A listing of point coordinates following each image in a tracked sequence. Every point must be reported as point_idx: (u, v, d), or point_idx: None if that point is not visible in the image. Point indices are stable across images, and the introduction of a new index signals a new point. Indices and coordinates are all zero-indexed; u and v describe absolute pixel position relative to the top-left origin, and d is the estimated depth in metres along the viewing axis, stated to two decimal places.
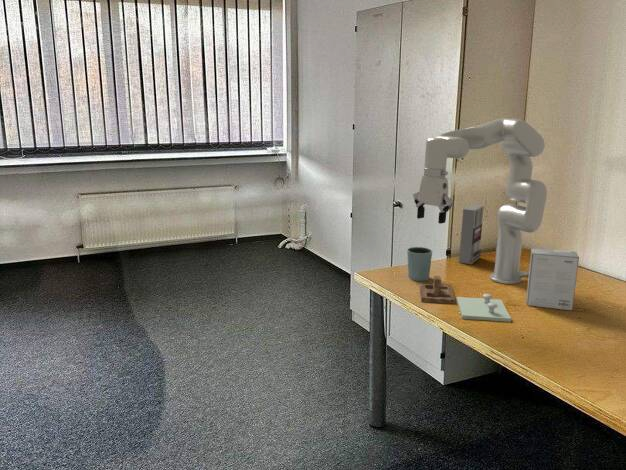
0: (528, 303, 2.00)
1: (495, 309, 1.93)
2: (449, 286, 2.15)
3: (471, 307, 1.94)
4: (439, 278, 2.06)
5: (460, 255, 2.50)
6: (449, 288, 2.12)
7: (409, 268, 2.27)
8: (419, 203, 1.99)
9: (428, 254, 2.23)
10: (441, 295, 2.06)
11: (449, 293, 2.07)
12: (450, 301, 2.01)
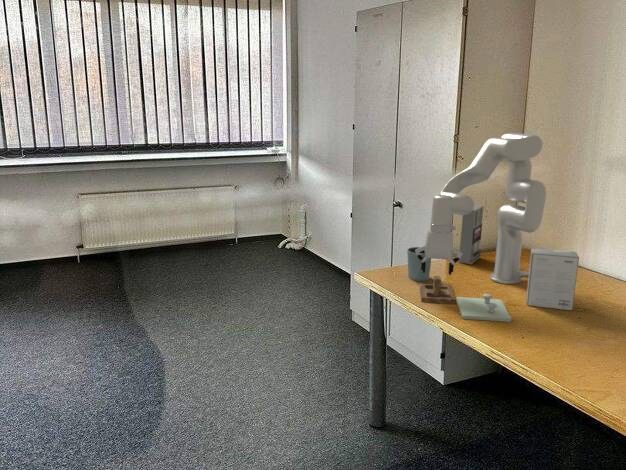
0: (528, 303, 2.00)
1: (495, 309, 1.93)
2: (449, 286, 2.15)
3: (471, 307, 1.94)
4: (439, 278, 2.06)
5: None
6: (449, 288, 2.12)
7: (409, 268, 2.27)
8: (425, 258, 2.05)
9: None
10: (441, 295, 2.06)
11: (449, 293, 2.07)
12: (450, 301, 2.01)
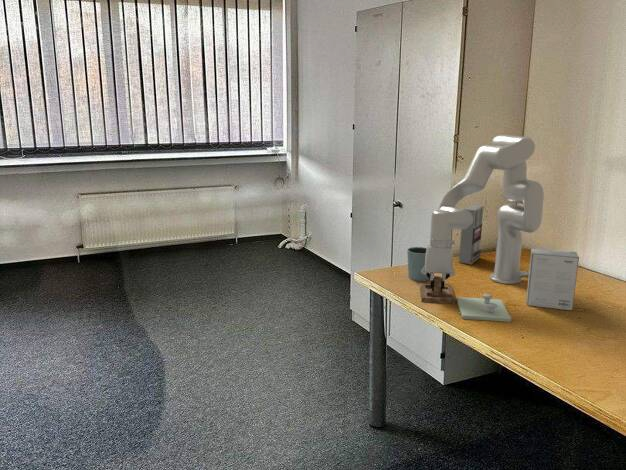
0: (528, 303, 2.00)
1: (495, 309, 1.93)
2: (449, 286, 2.15)
3: (471, 307, 1.94)
4: (439, 278, 2.06)
5: (460, 255, 2.50)
6: (449, 288, 2.12)
7: (409, 268, 2.27)
8: None
9: None
10: (441, 295, 2.06)
11: (449, 293, 2.07)
12: (450, 301, 2.01)
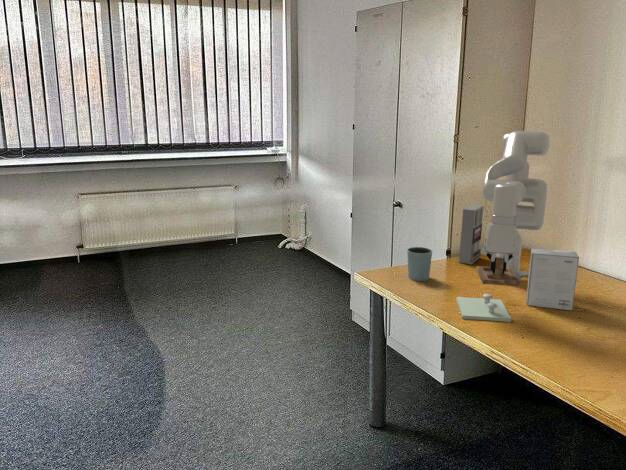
0: (528, 303, 2.00)
1: (495, 309, 1.93)
2: (509, 269, 1.96)
3: (471, 307, 1.94)
4: (500, 259, 1.88)
5: (460, 255, 2.50)
6: (510, 271, 1.94)
7: (409, 268, 2.27)
8: None
9: (428, 254, 2.23)
10: (503, 277, 1.88)
11: (512, 275, 1.89)
12: (515, 283, 1.83)
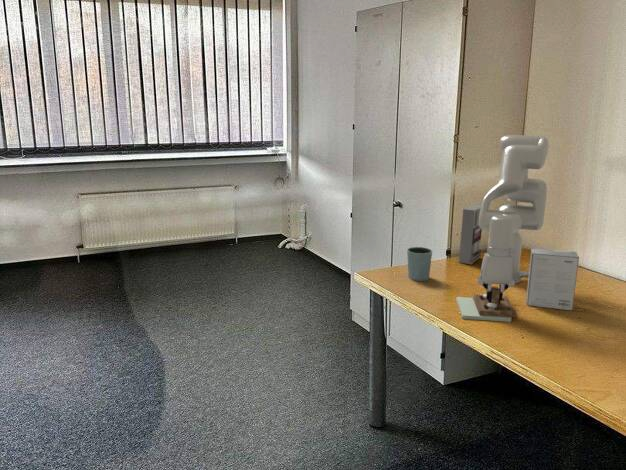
0: (528, 303, 2.00)
1: None
2: (505, 297, 1.99)
3: (471, 307, 1.94)
4: (497, 289, 1.91)
5: (460, 255, 2.50)
6: (506, 299, 1.97)
7: (409, 268, 2.27)
8: None
9: (428, 254, 2.23)
10: (499, 307, 1.91)
11: (508, 305, 1.92)
12: (511, 314, 1.86)
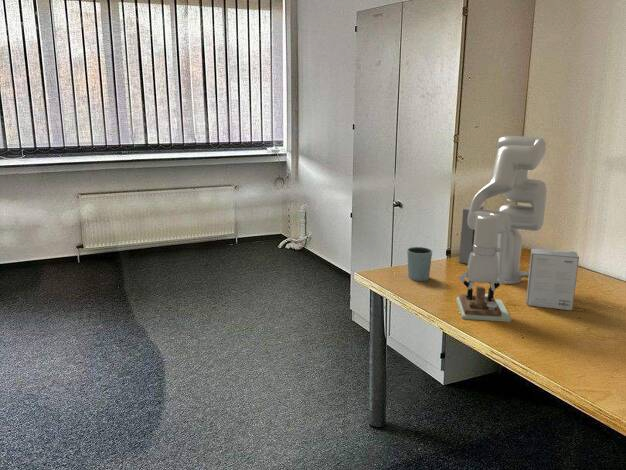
0: (528, 303, 2.00)
1: None
2: None
3: None
4: (482, 289, 1.92)
5: (460, 255, 2.50)
6: (492, 299, 1.98)
7: (409, 268, 2.27)
8: (472, 285, 1.92)
9: (428, 254, 2.23)
10: (485, 307, 1.91)
11: None
12: (496, 314, 1.86)
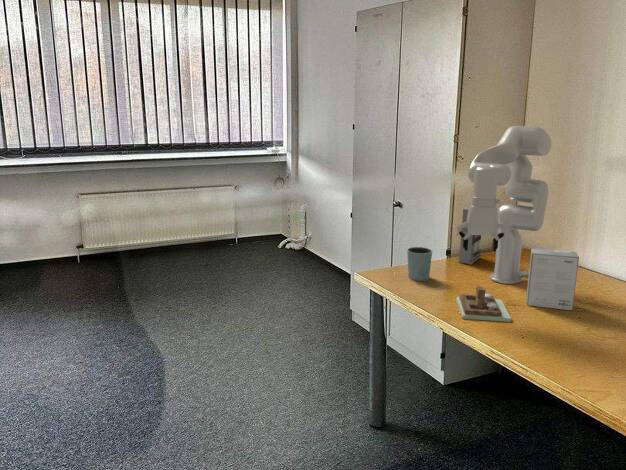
0: (528, 303, 2.00)
1: None
2: (492, 297, 2.00)
3: None
4: (482, 289, 1.92)
5: (460, 255, 2.50)
6: (492, 299, 1.98)
7: (409, 268, 2.27)
8: (467, 235, 1.91)
9: (428, 254, 2.23)
10: (485, 307, 1.91)
11: None
12: (496, 314, 1.86)
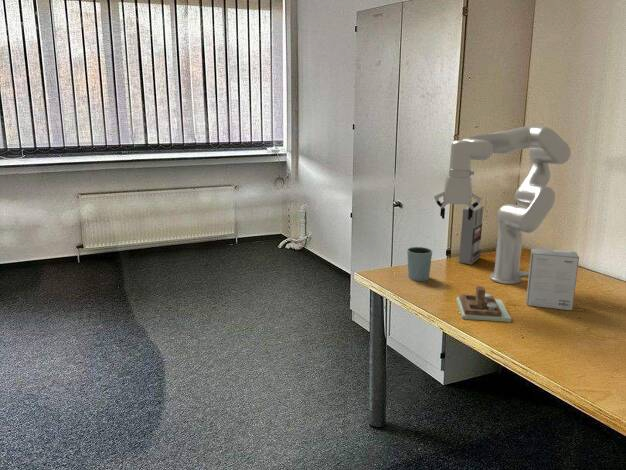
0: (528, 303, 2.00)
1: None
2: (492, 297, 2.00)
3: None
4: (482, 289, 1.92)
5: (460, 255, 2.50)
6: (492, 299, 1.98)
7: (409, 268, 2.27)
8: (444, 204, 2.07)
9: (428, 254, 2.23)
10: (485, 307, 1.91)
11: None
12: (496, 314, 1.86)
